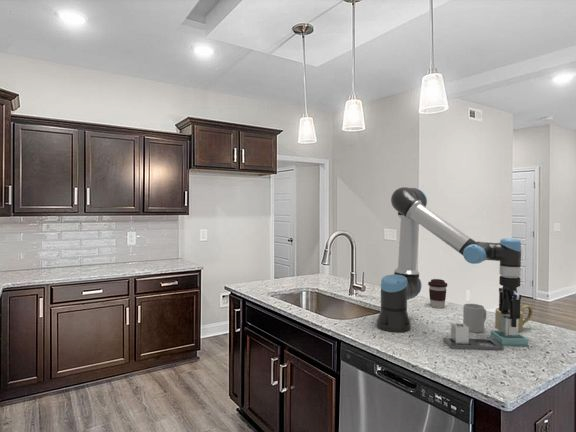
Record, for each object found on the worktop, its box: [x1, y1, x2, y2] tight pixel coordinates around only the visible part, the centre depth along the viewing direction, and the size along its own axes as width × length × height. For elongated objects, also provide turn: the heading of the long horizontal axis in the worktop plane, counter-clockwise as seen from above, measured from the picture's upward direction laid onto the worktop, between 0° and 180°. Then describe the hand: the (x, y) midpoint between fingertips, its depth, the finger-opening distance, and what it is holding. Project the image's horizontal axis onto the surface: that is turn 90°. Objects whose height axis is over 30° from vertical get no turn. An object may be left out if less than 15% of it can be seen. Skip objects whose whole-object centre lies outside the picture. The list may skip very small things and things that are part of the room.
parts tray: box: [489, 329, 529, 347], centre depth 159 cm, size 10×10×3 cm
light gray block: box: [450, 322, 470, 345], centre depth 154 cm, size 5×5×8 cm
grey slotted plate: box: [442, 337, 505, 351], centre depth 154 cm, size 20×9×1 cm, turn 86°
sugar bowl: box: [494, 299, 533, 333], centre depth 176 cm, size 15×11×15 cm
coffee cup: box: [427, 278, 448, 309], centre depth 213 cm, size 10×10×15 cm
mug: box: [462, 303, 487, 334], centre depth 174 cm, size 12×8×11 cm
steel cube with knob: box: [499, 315, 519, 338], centre depth 158 cm, size 5×5×8 cm
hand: (508, 331), depth 158 cm, fingers closed on steel cube with knob, 5 cm apart
